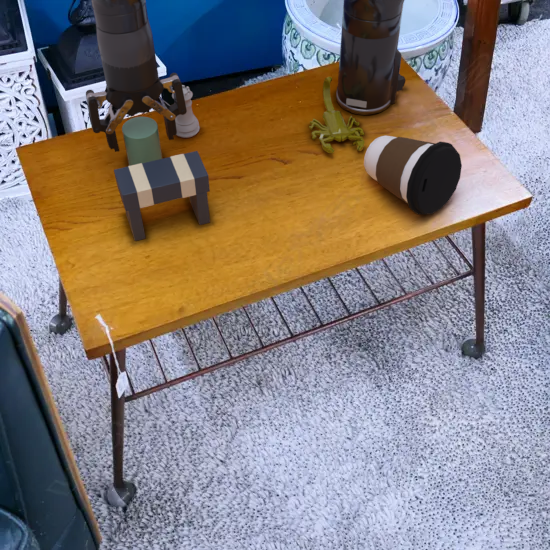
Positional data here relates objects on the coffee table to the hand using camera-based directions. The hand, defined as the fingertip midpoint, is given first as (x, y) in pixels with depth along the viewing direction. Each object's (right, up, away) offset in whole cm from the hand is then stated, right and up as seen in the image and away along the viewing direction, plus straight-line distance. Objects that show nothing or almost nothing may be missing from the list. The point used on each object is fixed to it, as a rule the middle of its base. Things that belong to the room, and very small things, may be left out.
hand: (143, 142), depth 116 cm
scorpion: (+30, +4, +8) cm, 31 cm away
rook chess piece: (+6, +3, +8) cm, 10 cm away
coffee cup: (+36, -2, -2) cm, 36 cm away
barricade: (+5, -12, -6) cm, 15 cm away
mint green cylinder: (0, -2, +2) cm, 3 cm away
